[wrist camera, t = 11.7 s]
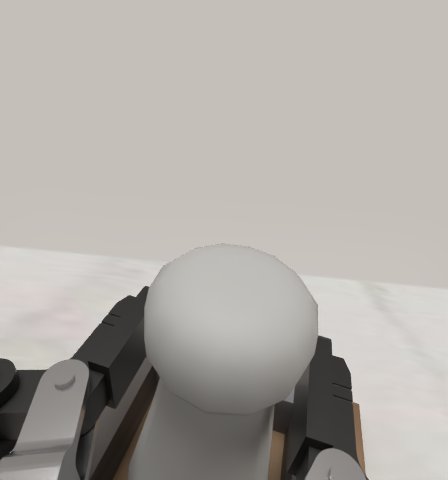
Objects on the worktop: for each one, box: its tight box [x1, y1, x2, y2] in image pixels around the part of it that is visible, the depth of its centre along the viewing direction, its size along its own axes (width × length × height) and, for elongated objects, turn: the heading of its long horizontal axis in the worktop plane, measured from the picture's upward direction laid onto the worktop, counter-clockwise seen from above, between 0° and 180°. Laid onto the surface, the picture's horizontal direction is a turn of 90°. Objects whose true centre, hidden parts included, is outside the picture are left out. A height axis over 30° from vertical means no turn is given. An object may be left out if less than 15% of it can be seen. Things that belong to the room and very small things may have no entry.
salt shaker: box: [128, 244, 318, 480], centre depth 11 cm, size 6×6×13 cm
